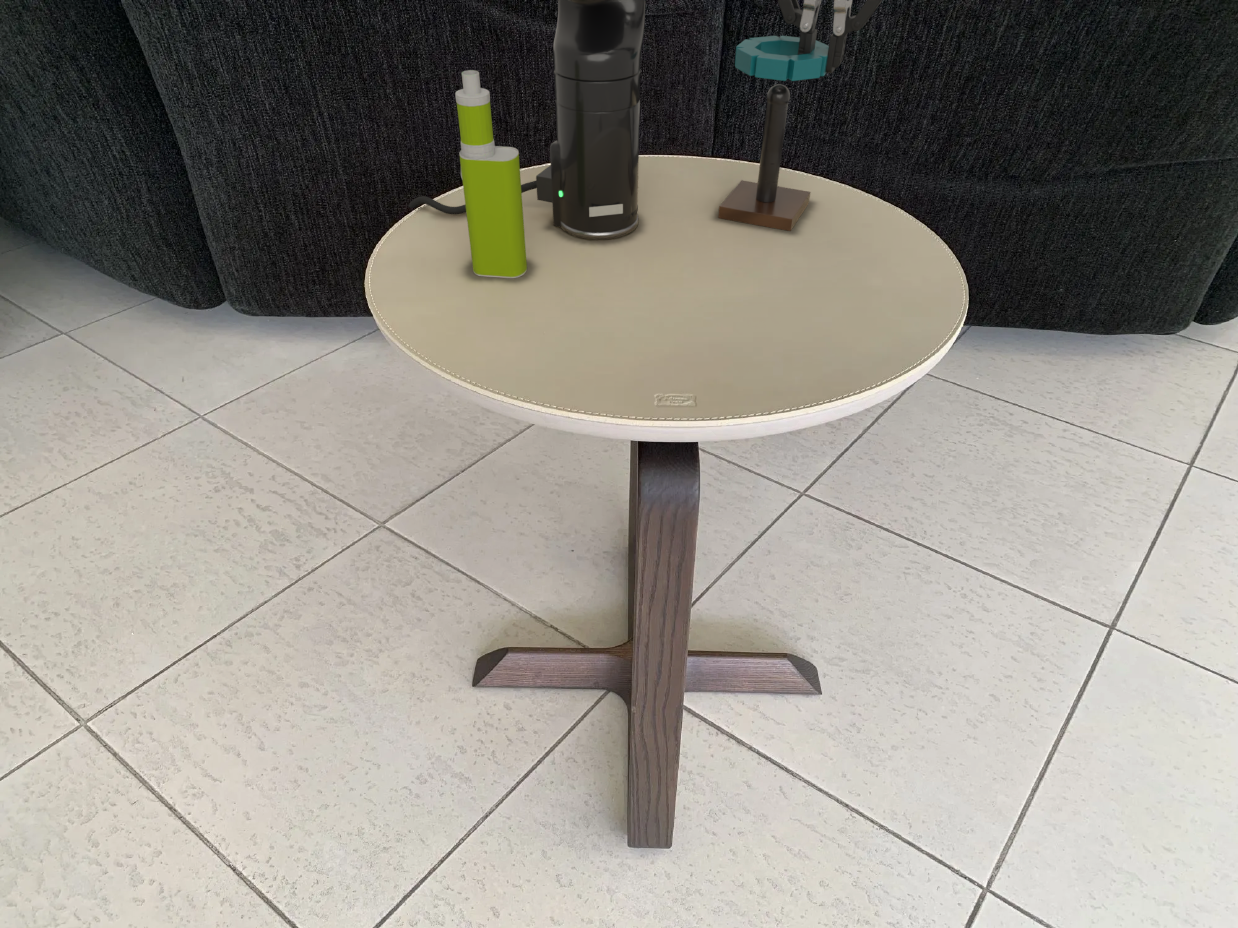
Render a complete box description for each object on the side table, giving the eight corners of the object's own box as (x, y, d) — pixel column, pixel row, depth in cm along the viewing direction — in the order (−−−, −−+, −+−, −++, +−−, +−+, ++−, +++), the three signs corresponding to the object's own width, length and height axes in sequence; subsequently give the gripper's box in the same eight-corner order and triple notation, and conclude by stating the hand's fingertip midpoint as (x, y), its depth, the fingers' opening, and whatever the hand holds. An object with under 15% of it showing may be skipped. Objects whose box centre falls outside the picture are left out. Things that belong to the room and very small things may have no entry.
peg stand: (718, 218, 101) (729, 90, 92) (740, 191, 107) (752, 69, 98) (790, 231, 98) (809, 101, 89) (808, 203, 105) (828, 79, 95)
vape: (477, 259, 92) (455, 66, 79) (530, 263, 92) (516, 69, 79) (468, 275, 89) (443, 77, 77) (522, 279, 89) (507, 80, 76)
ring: (725, 73, 90) (726, 54, 89) (751, 51, 97) (753, 32, 96) (816, 85, 87) (819, 64, 86) (837, 61, 94) (840, 42, 93)
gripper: (926, -124, 80) (888, 68, 91) (786, -131, 84) (766, 54, 96) (914, -116, 75) (875, 87, 86) (765, -124, 79) (747, 71, 90)
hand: (818, 69), depth 91 cm, fingers closed on ring, 2 cm apart
